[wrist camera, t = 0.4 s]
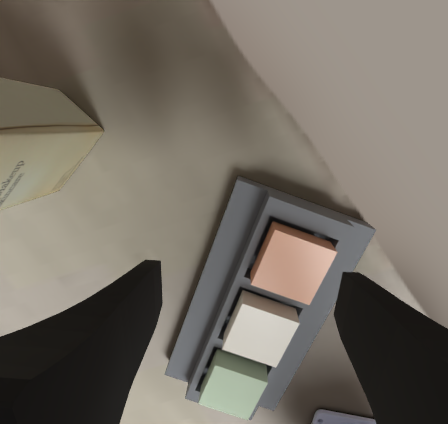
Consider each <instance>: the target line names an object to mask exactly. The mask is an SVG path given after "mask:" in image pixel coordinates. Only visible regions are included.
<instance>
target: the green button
mask: <svg viewBox="0 0 448 424" xmlns="http://www.w3.org/2000/svg"><path fill="white" fill-rule="evenodd" d="M267 384H268V377H267V366H266V365H265V364H262V363H259V362H256V361H253V360H250V359H247V358H244V357H241V356H238V355H236V354H233V353H230V352H227V351H224V350H221V349H218V348H217V350H216V352H215V355H214V357H213V359H212V362H211V364H210V366H209V369H208V371H207V373H206V375H205V378H204V380H203V382H202V385H201V389H200V395H199V401H198V404H199V405H202V406H206V407H209V408H212V409H215V410H218V411H221V412H224V413H227V414H230V415H233V416H236V417H239V418H242V419H245V420H248V419H249V418H250V416H251V414H252V412H253V410H254V408H255V406H256V404H257V403H258V401H259V399H260V397H261V395H262V393H263V391H264V389H265V388H266V386H267Z"/></svg>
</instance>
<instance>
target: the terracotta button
mask: <svg viewBox="0 0 448 424" xmlns="http://www.w3.org/2000/svg"><path fill="white" fill-rule="evenodd" d="M337 253H338V252H337V251H336V249H335V248H334V246H333V245H332V243H331V242H330V241H327V240H325V239H322V238H319V237H316V236H313V235H311V234H308V233H305V232H302V231H300V230H297V229H294V228H291V227H288V226H286V225H283V224H280V223H277V222H274V221H272V224H271V226H270V228H269V230H268V233H267V235H266V237H265V240H264V242H263V244H262V247H261V249H260V251H259V253H258V256H257V258H256V260H255V263H254V265H253V267H252V270H251V272H250V277H251V285H253V286H256V287H258V288H261V289H264V290H267V291H270V292H273V293H276V294H278V295H281V296H284V297H287V298H290V299H293V300H296V301H299V302H301V303H304V304H307V305H310V303H311V301H312V299H313V298H314V296H315V294H316V292H317V290H318V288H319V286H320V284H321V283H322V281H323V279H324V277H325V275H326V273H327V271H328V269H329V268H330V266H331V264H332V262H333V260H334V258H335V256H336V254H337Z"/></svg>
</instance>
